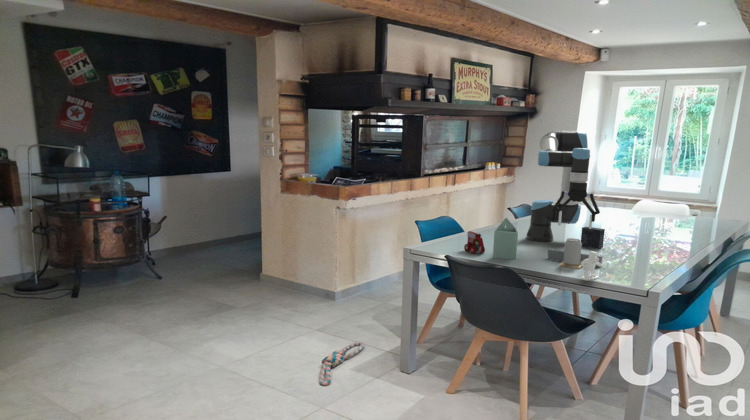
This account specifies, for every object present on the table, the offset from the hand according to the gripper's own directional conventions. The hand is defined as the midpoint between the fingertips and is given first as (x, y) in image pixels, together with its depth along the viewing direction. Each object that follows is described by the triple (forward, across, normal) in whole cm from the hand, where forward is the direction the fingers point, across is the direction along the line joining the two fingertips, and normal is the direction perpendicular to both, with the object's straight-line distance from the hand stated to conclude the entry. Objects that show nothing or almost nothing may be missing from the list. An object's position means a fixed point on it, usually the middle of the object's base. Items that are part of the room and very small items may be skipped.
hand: (574, 226), depth 230 cm
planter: (+19, -29, -3) cm, 35 cm away
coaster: (+19, 0, -1) cm, 19 cm away
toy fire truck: (+19, -47, -3) cm, 51 cm away
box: (+19, +2, +50) cm, 54 cm away
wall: (+19, 0, +7) cm, 20 cm away
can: (+18, 0, 0) cm, 18 cm away
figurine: (+19, +11, -19) cm, 29 cm away
